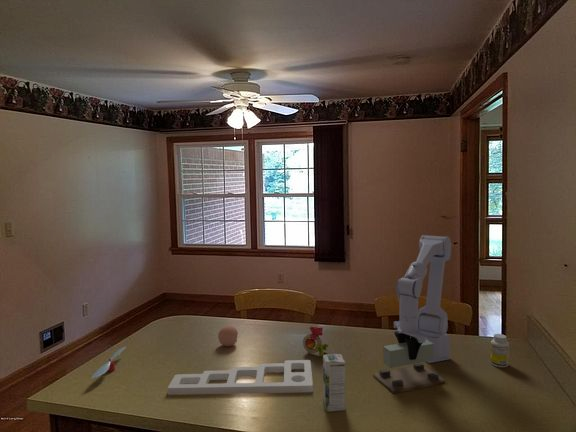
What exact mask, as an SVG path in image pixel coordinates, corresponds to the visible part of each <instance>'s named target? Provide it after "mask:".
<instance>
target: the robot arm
mask: <svg viewBox="0 0 576 432" xmlns="http://www.w3.org/2000/svg"><path fill="white" fill-rule="evenodd" d="M418 248H419V253H418V255H417V258H416V260H415V261H413V262H412V263H410V264H409V267H408V268H407V270H406V273H405V275H404V276H403V277H401V278H399V279H398V280H397V282H396V287H395V292H396V294H397V300H398V301H399V320H398V321H397V320H396V321H393V328H394V329H396V331H394V335H395V337H396V339H397V342H398V343H397V344H400V343H407V346H408V352H409V359H410V360H414V359H416V358H417V354H418V351H419V348H420V346H421V344H422V343H423V342H425V339H426V340H428V341H430V342H432V343H433V344H434V345H433V360H431V361H425V362H426V363H428V364H432V363H437V362H438V363H439V362H442V361H448V360H452V357H451V356H450V350H451V349H450V348H451V347H450V346H451V343H450V341H451V339H450V337H449V335H448V334H447V331H448V328H449V326H448V325H449V323H448V314H447V312H446V311H445V310H444V309H443V308H442V307H441V302H442V294H443V293H442V292H443V284H444V274H445V273H444V272H445V265H446V262H447V261H450V260H451V255H452V240H451V238H450V237H449V236H441V235H440V236H438V235H426V234H422V235H421V237H420V238H419V242H418ZM429 263H430V264H429ZM428 265H429V273H428V268H427V266H428ZM427 273H428V284H427V292H426V302H425V305H424V306H422V307H420V308H419V297H420V296H421V294H422V290H423V289H422V288H423V285H424V284H423V282H424V280H425V277H426V275H427Z"/></svg>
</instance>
